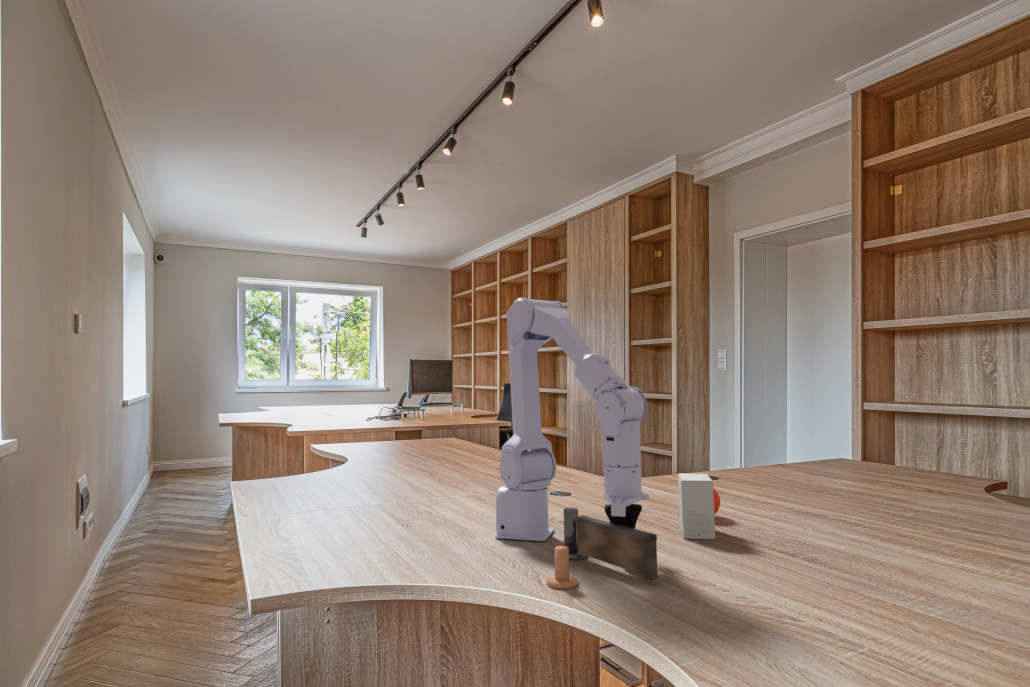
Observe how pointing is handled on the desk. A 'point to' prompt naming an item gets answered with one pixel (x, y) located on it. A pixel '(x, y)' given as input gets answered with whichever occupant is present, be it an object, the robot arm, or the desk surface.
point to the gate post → (571, 533)
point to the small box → (696, 506)
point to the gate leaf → (618, 545)
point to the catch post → (562, 571)
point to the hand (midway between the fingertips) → (624, 552)
